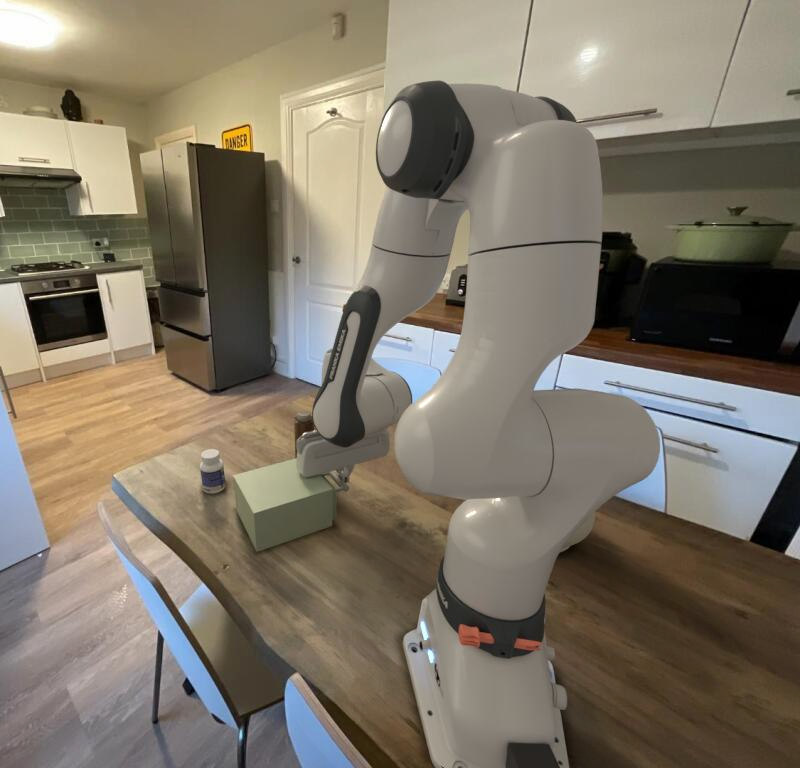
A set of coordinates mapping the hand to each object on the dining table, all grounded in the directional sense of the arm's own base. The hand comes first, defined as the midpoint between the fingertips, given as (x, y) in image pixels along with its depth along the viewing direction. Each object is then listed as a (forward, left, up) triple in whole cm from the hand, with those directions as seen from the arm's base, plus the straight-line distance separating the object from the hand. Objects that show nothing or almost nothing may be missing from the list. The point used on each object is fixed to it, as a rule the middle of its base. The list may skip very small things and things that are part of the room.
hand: (343, 481), depth 86 cm
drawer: (-6, +8, -3) cm, 11 cm away
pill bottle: (-1, +29, -5) cm, 30 cm away
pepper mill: (+11, +10, -4) cm, 16 cm away
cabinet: (-8, +11, -4) cm, 15 cm away
